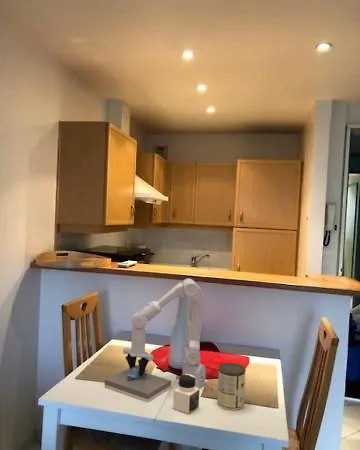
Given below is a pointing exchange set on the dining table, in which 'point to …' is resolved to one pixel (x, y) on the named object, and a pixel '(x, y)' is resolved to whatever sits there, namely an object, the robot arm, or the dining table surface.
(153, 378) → the grey flat block
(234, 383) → the coffee can
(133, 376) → the servo
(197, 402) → the medicine bottle
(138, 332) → the robot arm
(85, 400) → the dining table surface
